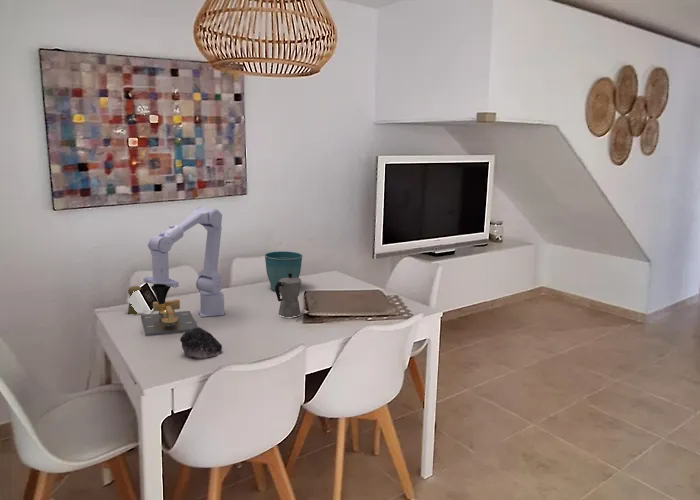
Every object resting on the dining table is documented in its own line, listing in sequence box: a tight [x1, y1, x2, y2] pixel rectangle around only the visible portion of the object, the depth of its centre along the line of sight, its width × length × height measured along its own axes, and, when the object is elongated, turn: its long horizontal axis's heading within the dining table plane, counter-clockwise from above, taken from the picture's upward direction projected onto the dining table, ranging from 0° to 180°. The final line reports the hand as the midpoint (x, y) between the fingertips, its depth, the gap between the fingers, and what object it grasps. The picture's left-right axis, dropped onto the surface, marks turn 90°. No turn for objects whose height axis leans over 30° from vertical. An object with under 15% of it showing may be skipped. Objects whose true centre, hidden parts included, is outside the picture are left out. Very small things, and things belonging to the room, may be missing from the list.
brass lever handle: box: [162, 306, 178, 325], centre depth 217 cm, size 6×10×5 cm, turn 24°
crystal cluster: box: [179, 326, 223, 360], centre depth 195 cm, size 13×14×10 cm
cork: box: [127, 285, 142, 315], centre depth 232 cm, size 6×6×11 cm
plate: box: [140, 310, 198, 337], centre depth 222 cm, size 19×22×2 cm
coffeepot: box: [274, 273, 302, 317], centre depth 235 cm, size 15×9×18 cm, turn 145°
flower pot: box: [264, 250, 303, 292], centre depth 274 cm, size 18×18×17 cm
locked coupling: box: [152, 298, 181, 316], centre depth 227 cm, size 6×10×5 cm, turn 114°
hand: (161, 303), depth 213 cm, fingers closed
